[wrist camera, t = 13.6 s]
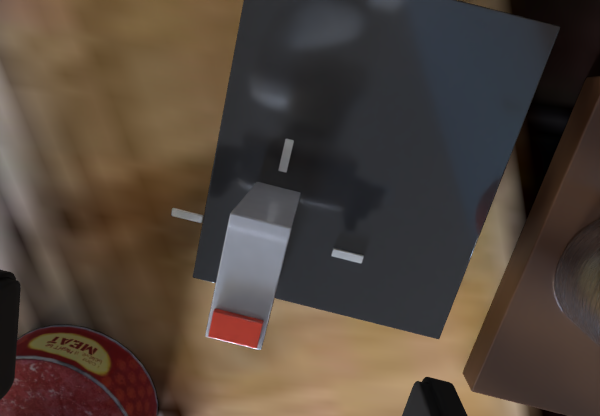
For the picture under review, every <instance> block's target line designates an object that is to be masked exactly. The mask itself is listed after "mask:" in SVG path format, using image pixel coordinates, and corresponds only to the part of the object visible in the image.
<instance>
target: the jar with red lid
mask: <svg viewBox="0 0 600 416" xmlns="http://www.w3.org/2000/svg"><path fill="white" fill-rule="evenodd" d="M554 285H555V293H556V298H557V301H558V303H559V306H560V308H561V309H562V311H563V313H564V314H565V315H566V316H567V317H568V319H569V320H570V321H572V322H573V323H574V324H575V325H576V326H577V327H578V328H579V329H580V330H582V331H583V332H584V333H585V334H586V335H587V336H588V337H589V338H590V339H591V340H593V341H594V342H595V343H596V344H597V345H598V346H599V347H600V219H598V220H596V221H595V222H593V223H591V224H590V225H588V226H587V227H586V228H584V229H583V230H582V231H581V232H580V233H578V234H577V235H576V236H575V237H574V238H573V240H572V241H571V242H570V243H569V244H568V246H567V247H566V249H565V250H564V252H563V254H562V256H561V257H560V260H559V262H558V265H557V268H556V273H555V281H554Z"/></svg>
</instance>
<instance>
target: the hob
mask: <svg viewBox="0 0 600 416" xmlns="http://www.w3.org/2000/svg"><path fill="white" fill-rule="evenodd" d="M559 30H560V26H557V25H553V24H549V23H545V22H541V21H537V20H533V19H529V18H525V17H521V16H517V15H513V14H510V13H506V12H502V11H498V10H494V9H490V8H486V7H482V6H478V5H474V4H470V3H466V2H462V1H458V0H244V2H243V7H242V13H241V18H240V23H239V29H238V34H237V40H236V45H235V50H234V56H233V61H232V67H231V72H230V77H229V83H228V88H227V94H226V99H225V105H224V110H223V115H222V121H221V126H220V132H219V137H218V142H217V148H216V153H215V159H214V164H213V169H212V175H211V180H210V186H209V191H208V196H207V202H206V207H205V213H204V215H201V214H197V213H193V212H189V211H185V210H181V209H177V208H172V213H171V216H174V217H178V218H182V219H186V220H190V221H194V222H198V223H202V221H203V224H202V229H201V234H200V240H199V245H198V251H197V256H196V261H195V267H194V272H193V278H197V279H201V280H205V281H209V282H213V283H216V280H217V275H218V270H219V265H220V260H221V255H222V250H223V246H224V241H225V236H226V231H227V226H228V221H229V216H230V213H231V212H232V211H233V209H234V208H235V207H236V206H237V205H238V203H239V202H240V201H241V200H242V199H243V198H244V196H245V195H246V194H247V193H248V192H249V190H250V189H251V188H252V187H253V186H254V184H255V183H256V182H261V183H265V184H269V185H272V186H276V187H280V188H284V189H288V190H292V191H296V192H300V193H301V195H300V199H299V203H298V207H297V211H296V215H295V219H294V223H293V227H292V231H291V235H290V239H289V243H288V247H287V251H286V255H285V259H284V263H283V267H282V271H281V275H280V279H279V283H278V287H277V291H276V295H275V298H277V299H281V300H285V301H289V302H293V303H297V304H300V305H304V306H308V307H312V308H316V309H320V310H324V311H328V312H332V313H336V314H340V315H344V316H348V317H352V318H356V319H360V320H364V321H368V322H372V323H376V324H380V325H384V326H388V327H392V328H396V329H400V330H404V331H408V332H412V333H416V334H420V335H424V336H428V337H432V338H436V339H439V338H440V335H441V333H442V330H443V328H444V325H445V323H446V320H447V317H448V315H449V312H450V310H451V307H452V305H453V302H454V299H455V297H456V294H457V292H458V289H459V287H460V284H461V281H462V279H463V276H464V274H465V271H466V269H467V266H468V263H469V261H470V258H471V256H472V253H473V251H474V248H475V246H476V243H477V240H478V238H479V235H480V233H481V230H482V228H483V225H484V222H485V220H486V217H487V215H488V212H489V210H490V207H491V204H492V202H493V199H494V197H495V194H496V192H497V189H498V186H499V184H500V181H501V179H502V176H503V174H504V171H505V168H506V166H507V163H508V161H509V158H510V156H511V153H512V150H513V148H514V145H515V143H516V140H517V138H518V135H519V132H520V130H521V127H522V125H523V122H524V120H525V117H526V114H527V112H528V109H529V107H530V104H531V102H532V99H533V96H534V94H535V91H536V89H537V86H538V84H539V81H540V79H541V76H542V73H543V71H544V68H545V66H546V63H547V61H548V58H549V55H550V53H551V50H552V48H553V45H554V43H555V40H556V37H557V35H558V32H559ZM203 216H204V218H203Z"/></svg>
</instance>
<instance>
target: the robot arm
mask: <svg viewBox="0 0 600 416" xmlns="http://www.w3.org/2000/svg"><path fill="white" fill-rule="evenodd" d="M19 303H20V283H19V282H18V281H16V278H15V276H14V274H13V273H11V272H7V271H3V270H0V400H1V399H2V398H3V397H4V396H5V395H6V394H7V393H8V391H9V390H10V388H11V386H12V385H13V382H14V378H15V364H16V349H17V334H18V318H19ZM402 416H467V414H466V412H465V410H464V407H463V405H462V403H461V401H460V399H459V396H458V394H457V392H456V390H455V388H454V386H453V384H452V383H450V382H446V381H442V380H438V379H434V378H430V377H425V378H424V379H423V381H422V382H419V381H417V382H415V383H414V386H413V388H412V391H411V393H410V396H409V399H408V401H407V404H406V407H405V409H404V412H403V415H402Z"/></svg>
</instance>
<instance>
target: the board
mask: <svg viewBox="0 0 600 416" xmlns="http://www.w3.org/2000/svg"><path fill="white" fill-rule="evenodd" d="M598 219H600V76H593V77H587V78H586V80H585V82H584V84H583V87H582V89H581V92H580V94H579V96H578V99H577V101H576V104H575V106H574V108H573V111H572V113H571V115H570V118H569V120H568V123H567V125H566V127H565V130H564V132H563V135H562V137H561V139H560V142H559V144H558V146H557V149H556V151H555V154H554V156H553V158H552V161H551V163H550V166H549V168H548V170H547V173H546V175H545V177H544V180H543V182H542V185H541V187H540V189H539V192H538V194H537V197H536V199H535V201H534V204H533V206H532V208H531V211H530V213H529V216H528V218H527V220H526V223H525V225H524V228H523V230H522V232H521V235H520V237H519V240H518V242H517V244H516V247H515V249H514V251H513V254H512V256H511V259H510V261H509V263H508V266H507V268H506V271H505V273H504V275H503V278H502V280H501V282H500V285H499V287H498V290H497V292H496V294H495V297H494V299H493V302H492V304H491V306H490V309H489V311H488V313H487V316H486V318H485V321H484V323H483V325H482V328H481V330H480V333H479V335H478V337H477V340H476V342H475V345H474V347H473V349H472V352H471V354H470V356H469V359H468V361H467V364H466V366H465V368H464V371H463V375H464V377H465V379H466V381H467V383H468V385H469V387H470V389H471V391H473V392H476V393H480V394H484V395H488V396H492V397H496V398H500V399H504V400H508V401H512V402H516V403H520V404H524V405H528V406H532V407H536V408H540V409H544V410H548V411H552V412H556V413H560V414H564V415H568V416H600V347H599V346H598V345H597V344H596V343H595V342H594V341H593V340H591V339H590V338H589V337H588V336H587V335H586V334H585V333H584V332H583V331H582V330H580V329H579V328H578V327H577V326H576V325H575V324H574V323H573V322H572V321H570V320H569V319H568V317H567V316H566V315H565V314H564V313H563V311H562V309H561V308H560V306H559V303H558V301H557V298H556V293H555V285H554V281H555V273H556V268H557V265H558V262H559V260H560V257H561V256H562V254H563V252H564V250H565V249H566V247H567V246H568V244H569V243H570V242H571V241H572V240H573V238H574V237H575V236H576V235H577V234H578V233H580V232H581V231H582V230H583V229H584V228H586V227H587V226H588V225H590V224H591V223H593V222H595V221H596V220H598Z"/></svg>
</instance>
